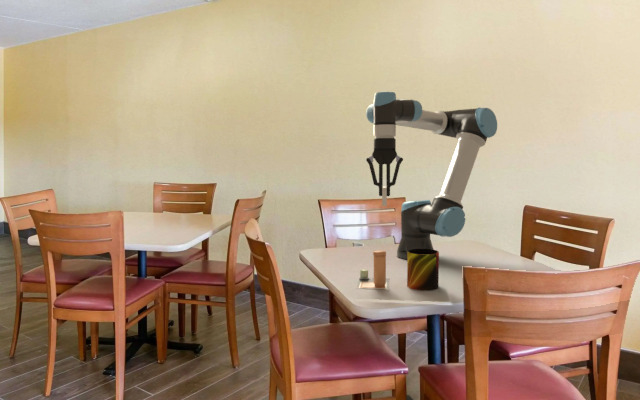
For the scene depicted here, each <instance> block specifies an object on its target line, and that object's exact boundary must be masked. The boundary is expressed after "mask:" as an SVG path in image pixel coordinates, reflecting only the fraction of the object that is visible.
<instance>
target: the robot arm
mask: <svg viewBox="0 0 640 400" xmlns="http://www.w3.org/2000/svg"><path fill="white" fill-rule="evenodd" d="M396 94H397V93H396V92H393V91H378V92H375V93H374V95H373V104H370V105H368V107H367V108H366V112H365V116H366V119H367V121H368V122H369V123H371V124H373V137H375V138H374V139H373V151H372V154H371V156H369V157H367V158H366V159H365V160H366V162H367V164H368V165H369V169H370V170H369V171H370V174H371V177H372V183H373V185H374V186H377V187H378V196H379V197H382V198H381V199H382V200H381V201H382V202H381V204H382V205H381V207H387V205H388V202H387V201H388V197H390V196H391V187H392V186H395V185H396V183H397V179H398V178H397V177H398V174H399V170H400V166H401V164H402V162H403V161H404V158H403V157H401V156H399V155H398V153H397V150H396V138H395V137H396V134H397V132H396V131H397V129H396V128H397V127H396V126H401V127H404V128H411V129H419V130H424V131H431V133H433V134H434V135H439V136H445V137H450V138H455V139H457V141H458V142H457V144H456V147H455V150H454V153H453V155H452V159H451V162H450V163H449V166H448V169H447V173H446V174H445V178H444V180H443V183H442V186H441V189H440V192H439V194H438V195H436V196H434V197H433V200H432V202H431V200H430V199H424V200H413V201H412V200H411V201H404V202H403V203H402V204H401V211H400V224H401V225H400V227H401V229H400V231H401V235H400V236H401V237H400V241H399V243H398V247H397V250H396V256H397V258H400V259H404V260H407V251H408V250H410V249H419V248H422V249H433V250H435V249H434V246H433V242H432V240H431V235H434V236H440V237H447V238H451V237H455V236H457V235H459V233H461V231H462V230H463V229H464V226H465V224H466V213H465V212H464V210H463V208H464V206H463V203H462V201H463V196H464V194H465V190H466V189H467V185H468V182H469V180H470V176H471V174H472V171H473V168H474V165H475V163H476V159H477V156H478V154H479V151H480V148H482V147H484V146H485V145H486V143H487V139H488V138H489V139H490V138H492V137H494V136H495V135H496V133H497V130H498V119H497V115H496V114H495V112H494V111H493V110H492V109H491V108H489V107H477V108H465V109H457V110H456V109H455V110H446V111H444V110H437V111H429V110H424V109H423V105H422V103H421V102H420V101H419V100H415V99H412V98H411V99H398V98H397V95H396ZM374 160H375V162H376V163H377V164H378V180H377V174H376V171H375V167H374V163H373V162H374ZM394 160H395V162H396V164H395V168H394V172H393V176H392V181H391V164H392V163H393V162H394ZM384 165H386V175H385V176H386V178H385V179H386V181H385V182H386V186H383V184H384V183H383V182H384V181H383V179H384V178H383V177H384V176H383V174H384V167H383V166H384Z"/></svg>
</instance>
